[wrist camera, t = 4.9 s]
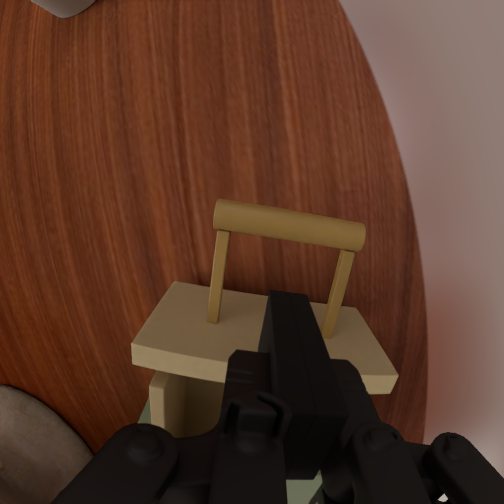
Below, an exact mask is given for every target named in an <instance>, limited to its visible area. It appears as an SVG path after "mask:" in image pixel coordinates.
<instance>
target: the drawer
mask: <svg viewBox="0 0 504 504" xmlns="http://www.w3.org/2000/svg"><path fill="white" fill-rule="evenodd" d="M213 228H214V229H218V231H217V237H216V244H215V252H214V260H213V268H212V276H211V285H210V287H206V286H200V285H194V284H188V283H183V282H177V281H174V282H173V283H172V285H171V286H170V288H169V289H168V291H167V292H166V293H165V295H164V296H163V298H162V299H161V301H160V302H159V303H158V305H157V306H156V308H155V309H154V311H153V312H152V314H151V315H150V316H149V318H148V319H147V321H146V322H145V324H144V325H143V327H142V328H141V330H140V331H139V333H138V334H137V336H136V337H135V339H134V340H133V342H132V343H131V348H132V364H134V365H138V366H142V367H146V368H150V369H155V370H156V372H155V374H154V376H153V379H152V381H151V383H150V385H149V395H150V410H151V423H152V424H153V425H156V426H160V427H162V428H163V429H165V430H166V431H168V432H170V433H171V435H172V436H173V437H174V438H180V437H193V436H199V435H202V434H204V433H207V432H208V431H210V430H211V429H213V428H214V427H215V425H216V424H217V423H218V421H219V418H220V412H221V405H222V398H223V391H224V385H225V378H226V371H227V364H228V358H229V357H230V356H231V355H232V354H233V353H234V351H235V350H236V349H240V350H247V351H254V352H258V345H259V340H260V335H261V330H262V325H263V320H264V315H265V310H266V305H267V300H268V296H263V295H257V294H250V293H244V292H237V291H231V290H224V289H223V285H224V278H225V270H226V263H227V256H228V249H229V242H230V235H231V231H234V232H240V233H247V234H253V235H259V236H266V237H272V238H278V239H284V240H290V241H296V242H303V243H309V244H315V245H321V246H327V247H332V248H338V249H341V251H340V255H339V259H338V263H337V268H336V272H335V276H334V280H333V284H332V288H331V292H330V295H329V299H328V303H327V304H322V303H314V302H310V304H311V307H312V310H313V312H314V315H315V318H316V320H317V323H318V326H319V328H320V331H321V334H322V337H323V339H324V342H325V345H326V348H327V350H328V353H329V356H330V358H331V359H346V360H348V361H349V362H351V363H352V364H353V365H354V366H355V367H356V368H357V369H358V371H359V373H360V376H361V378H362V382H364V384H365V387H366V391H368V393H369V394H390V393H391V391H392V389H393V387H394V385H395V383H396V381H397V379H398V377H399V375H398V373H397V372H396V370H395V368H394V367H393V365H392V363H391V362H390V360H389V359H388V357H387V355H386V354H385V352H384V350H383V349H382V347H381V346H380V344H379V342H378V341H377V339H376V338H375V336H374V335H373V333H372V331H371V330H370V328H369V327H368V325H367V324H366V322H365V321H364V319H363V317H362V316H361V314H360V313H359V311H358V310H357V308H355V307H346V306H341V305H342V301H343V298H344V294H345V290H346V287H347V283H348V279H349V275H350V271H351V267H352V263H353V259H354V255H355V252H354V251H356V252H359V251H361V249H362V248H363V246H364V243H365V238H366V228H365V225H364V224H363V223H358V222H353V221H348V220H343V219H338V218H333V217H327V216H322V215H317V214H311V213H306V212H300V211H294V210H289V209H283V208H277V207H271V206H265V205H258V204H252V203H246V202H239V201H233V200H226V199H218V200H217V202H216V206H215V211H214V219H213Z"/></svg>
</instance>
